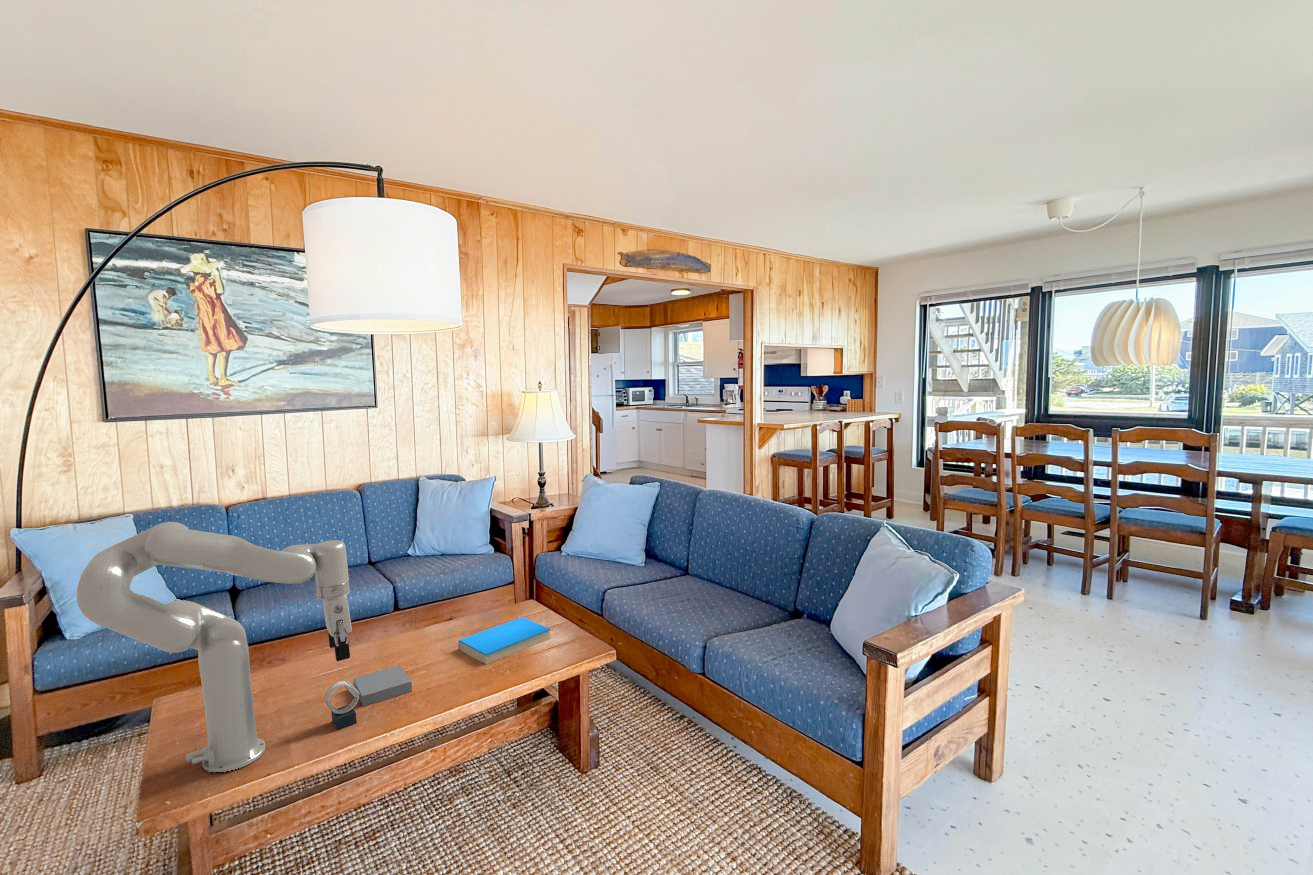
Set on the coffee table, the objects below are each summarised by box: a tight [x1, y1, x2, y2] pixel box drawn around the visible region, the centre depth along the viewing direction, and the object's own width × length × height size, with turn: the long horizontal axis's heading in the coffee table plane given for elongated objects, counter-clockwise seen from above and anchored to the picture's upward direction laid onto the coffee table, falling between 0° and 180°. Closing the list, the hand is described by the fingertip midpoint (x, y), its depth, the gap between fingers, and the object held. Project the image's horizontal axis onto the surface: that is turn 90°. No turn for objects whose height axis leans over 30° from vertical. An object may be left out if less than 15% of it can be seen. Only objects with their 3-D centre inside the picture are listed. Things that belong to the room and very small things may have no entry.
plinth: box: [352, 664, 413, 707], centre depth 180 cm, size 13×13×3 cm
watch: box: [324, 680, 360, 731], centre depth 163 cm, size 6×8×11 cm
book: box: [458, 616, 551, 665], centre depth 209 cm, size 17×4×25 cm
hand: (339, 652), depth 162 cm, fingers open, 9 cm apart
